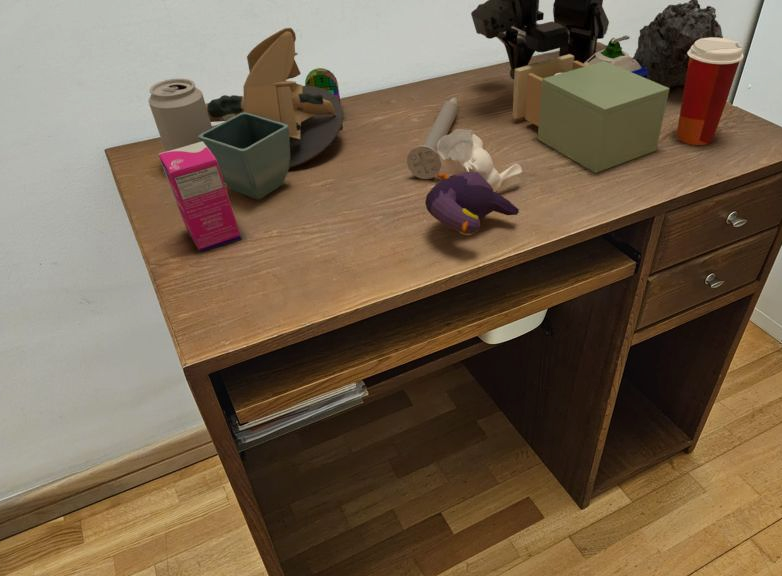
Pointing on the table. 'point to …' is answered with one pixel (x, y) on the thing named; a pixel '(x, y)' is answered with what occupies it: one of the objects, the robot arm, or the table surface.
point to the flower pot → (250, 153)
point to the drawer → (536, 84)
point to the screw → (432, 144)
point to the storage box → (601, 115)
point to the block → (323, 81)
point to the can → (179, 112)
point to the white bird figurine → (471, 158)
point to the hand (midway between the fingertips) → (517, 78)
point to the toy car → (618, 58)
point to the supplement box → (200, 195)
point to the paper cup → (707, 88)
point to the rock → (674, 41)
